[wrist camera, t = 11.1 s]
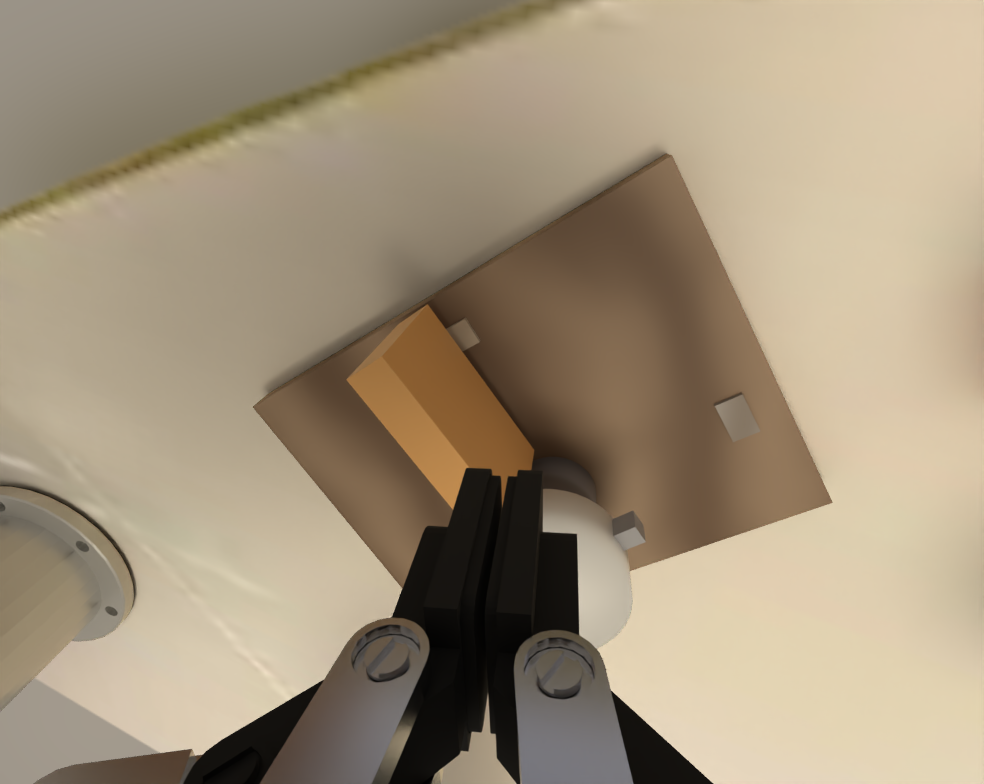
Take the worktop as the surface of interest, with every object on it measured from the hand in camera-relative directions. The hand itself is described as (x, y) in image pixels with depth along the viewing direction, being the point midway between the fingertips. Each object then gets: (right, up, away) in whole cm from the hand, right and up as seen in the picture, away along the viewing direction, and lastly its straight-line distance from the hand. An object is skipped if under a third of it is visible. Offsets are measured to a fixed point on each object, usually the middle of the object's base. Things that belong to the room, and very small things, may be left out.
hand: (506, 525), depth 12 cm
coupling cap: (0, +1, +13) cm, 13 cm away
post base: (+2, +1, +16) cm, 16 cm away
